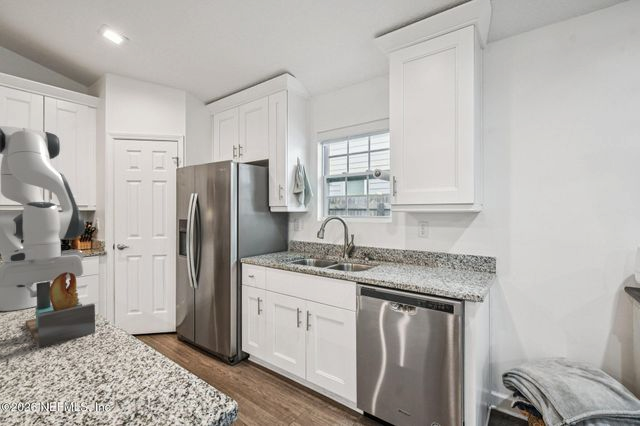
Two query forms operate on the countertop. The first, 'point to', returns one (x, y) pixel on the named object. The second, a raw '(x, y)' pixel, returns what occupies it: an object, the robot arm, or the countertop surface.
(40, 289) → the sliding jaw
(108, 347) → the countertop surface
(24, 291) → the robot arm
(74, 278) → the crab claw
